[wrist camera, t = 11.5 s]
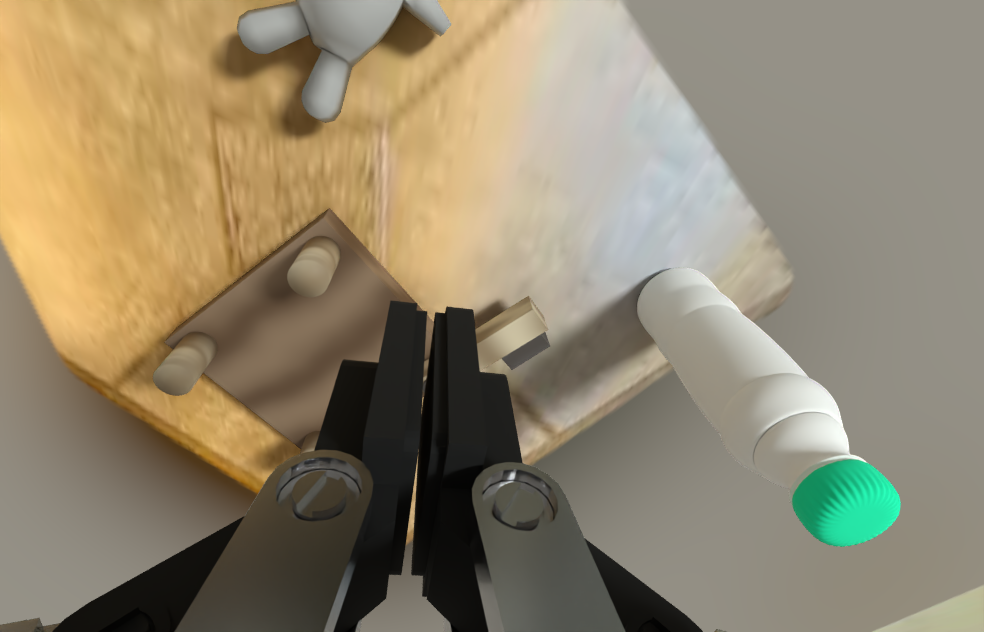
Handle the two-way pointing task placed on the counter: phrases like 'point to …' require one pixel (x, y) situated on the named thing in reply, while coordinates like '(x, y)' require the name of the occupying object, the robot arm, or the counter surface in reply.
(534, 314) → the hinged leg
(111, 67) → the counter surface
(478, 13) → the counter surface
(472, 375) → the robot arm
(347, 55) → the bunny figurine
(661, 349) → the water bottle
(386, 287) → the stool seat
